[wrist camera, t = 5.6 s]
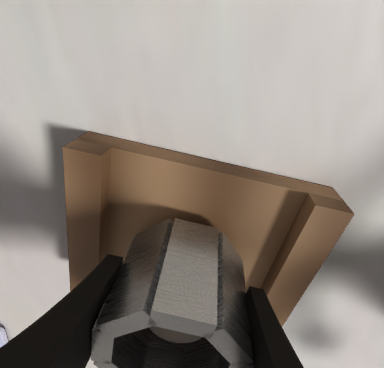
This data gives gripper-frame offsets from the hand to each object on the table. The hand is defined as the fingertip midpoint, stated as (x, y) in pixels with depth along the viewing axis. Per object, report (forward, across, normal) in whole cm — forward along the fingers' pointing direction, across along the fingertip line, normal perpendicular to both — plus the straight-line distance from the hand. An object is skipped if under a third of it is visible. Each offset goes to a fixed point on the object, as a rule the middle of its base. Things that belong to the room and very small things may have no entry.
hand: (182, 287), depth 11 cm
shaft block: (+4, 0, 0) cm, 4 cm away
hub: (+2, 0, +1) cm, 2 cm away
